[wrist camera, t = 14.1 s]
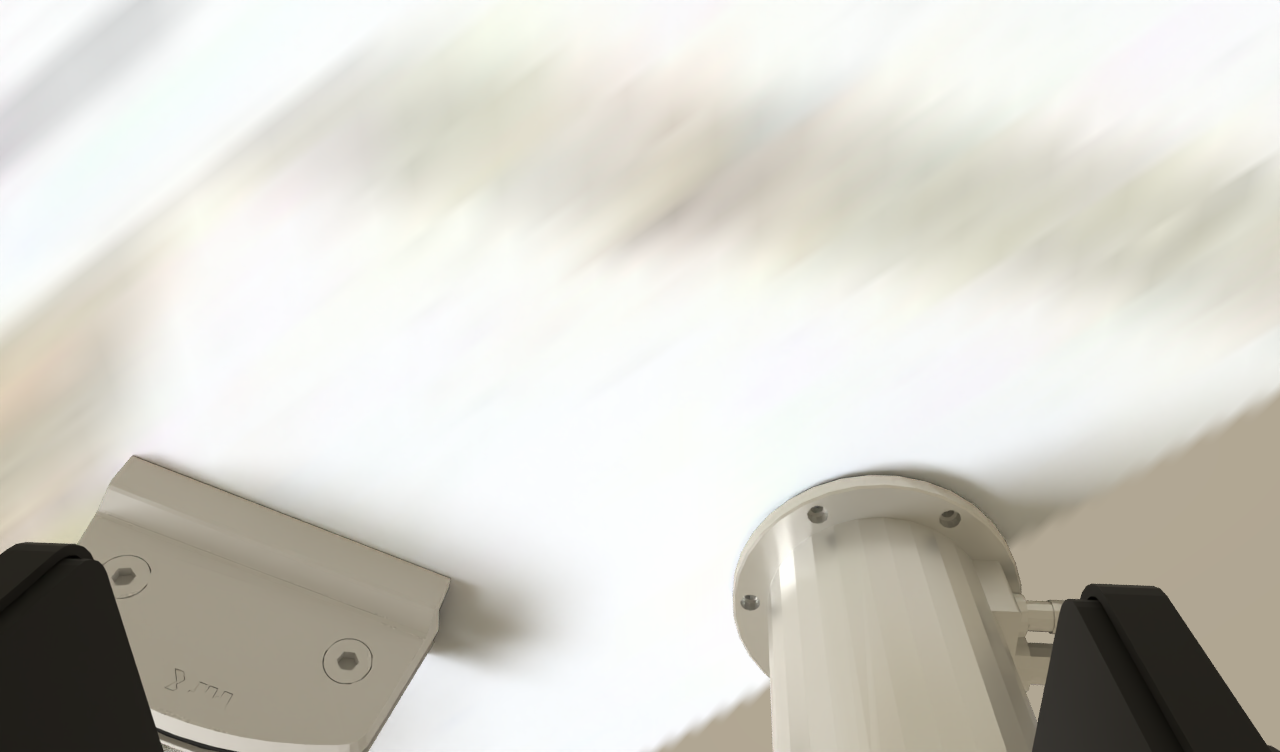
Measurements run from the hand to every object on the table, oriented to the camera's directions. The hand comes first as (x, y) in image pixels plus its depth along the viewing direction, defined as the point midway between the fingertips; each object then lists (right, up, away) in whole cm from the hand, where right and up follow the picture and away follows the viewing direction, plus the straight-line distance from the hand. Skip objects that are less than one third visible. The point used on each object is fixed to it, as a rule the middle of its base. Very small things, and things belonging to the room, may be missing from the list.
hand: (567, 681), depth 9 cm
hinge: (-17, -7, +37) cm, 41 cm away
